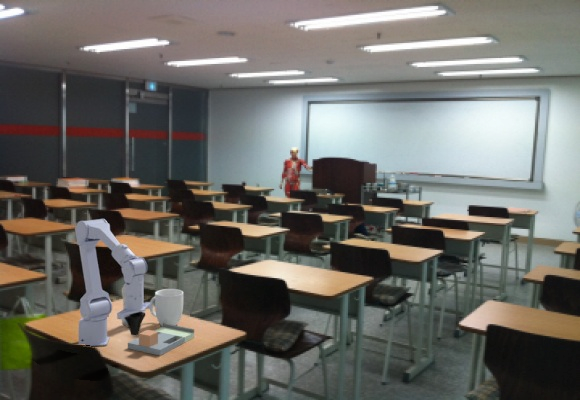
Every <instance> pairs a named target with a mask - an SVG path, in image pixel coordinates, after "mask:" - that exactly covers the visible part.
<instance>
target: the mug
mask: <svg viewBox="0 0 580 400" xmlns="http://www.w3.org/2000/svg"><path fill="white" fill-rule="evenodd" d="M154 293H155V294H154V296H153V297H152V298H151V299H150V301H149V303H151V308H150V309H149V311H150V314H151V315H152V316H154V317H155V318H156V319H157V321H158V324H159V325H160V326H161V327H163V323H165V324H170V325H175V326H178V324H179V322H180V320H182V315H183V311H184V291H183V290H181V289H179V288H177V289H176V288H165V289H163V288H162V289H160V290H156V291H155V292H154Z"/></svg>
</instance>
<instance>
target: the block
mask: <svg viewBox="0 0 580 400" xmlns="http://www.w3.org/2000/svg"><path fill="white" fill-rule="evenodd" d="M138 335H139V336H138V338H139V345H142V346H147V347H151V346H153V345H155V344H157V343H158V332H156V331H154V330H152V329H151V330H150V329H146V330H143V331H142V332H139V334H138Z"/></svg>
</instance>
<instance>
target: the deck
mask: <svg viewBox="0 0 580 400" xmlns="http://www.w3.org/2000/svg"><path fill="white" fill-rule="evenodd" d="M153 331H156V332H158V343H157V344H155V345H153V346H151V347H147V346H142V345H139V337H137V338H135V339H133V340H131V341H129V342H128V343H127V349H130V350H134V351H138V352H143V353H147V354H152V355H156V356H162V355H165V354H166V353H168V352H170V351H172V350H174V349H176V348H177V347H179V346H181V345H183V344H185V343H186V342H189V341H190V340H192V339H194V338H195V329H194V328H191V327H184V326H179V325H176V326H175V325H170V324H165V323H163V326H161V327H159V328H157V329H154V330H153Z"/></svg>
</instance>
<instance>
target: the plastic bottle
mask: <svg viewBox="0 0 580 400" xmlns="http://www.w3.org/2000/svg"><path fill="white" fill-rule="evenodd" d="M121 295H122V305H123V306H122V307H123V308H122V310H123V309H124V308H126V282H124V284H123V286H122V287H121ZM121 324H122V325H123V327H128V328H129V326H128V323H127V321H126V320H125V318H124V319H122V320H121Z"/></svg>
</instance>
